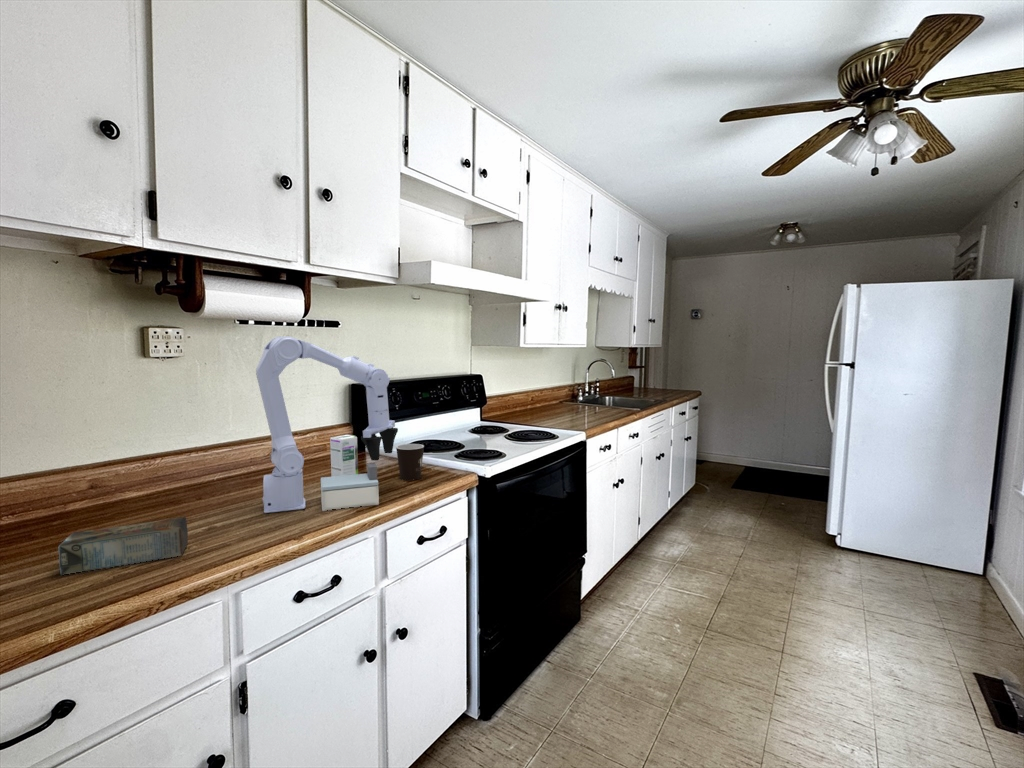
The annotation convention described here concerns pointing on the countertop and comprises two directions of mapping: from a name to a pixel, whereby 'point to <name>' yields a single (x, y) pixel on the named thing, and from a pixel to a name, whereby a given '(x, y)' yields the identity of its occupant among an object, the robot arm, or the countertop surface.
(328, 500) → the carton
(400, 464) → the coffee mug
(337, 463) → the syrup box
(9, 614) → the countertop surface
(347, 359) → the robot arm
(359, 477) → the carton lid
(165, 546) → the beverage carton
